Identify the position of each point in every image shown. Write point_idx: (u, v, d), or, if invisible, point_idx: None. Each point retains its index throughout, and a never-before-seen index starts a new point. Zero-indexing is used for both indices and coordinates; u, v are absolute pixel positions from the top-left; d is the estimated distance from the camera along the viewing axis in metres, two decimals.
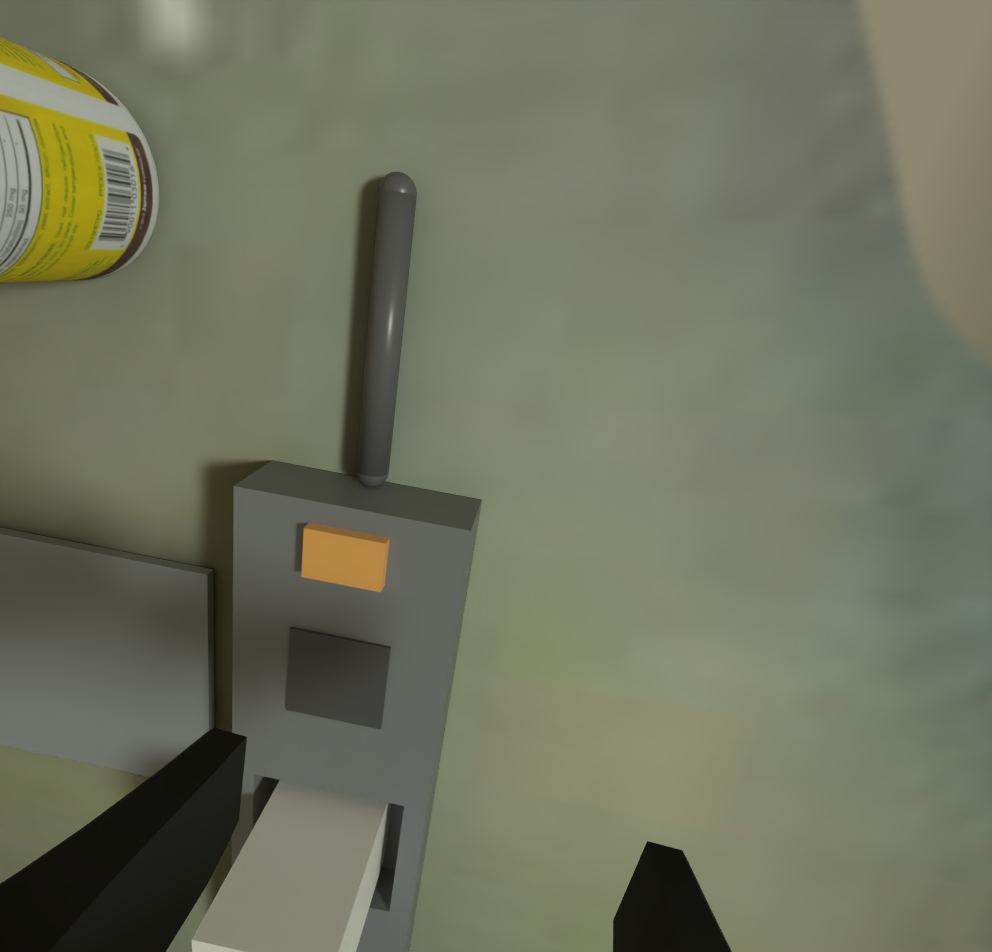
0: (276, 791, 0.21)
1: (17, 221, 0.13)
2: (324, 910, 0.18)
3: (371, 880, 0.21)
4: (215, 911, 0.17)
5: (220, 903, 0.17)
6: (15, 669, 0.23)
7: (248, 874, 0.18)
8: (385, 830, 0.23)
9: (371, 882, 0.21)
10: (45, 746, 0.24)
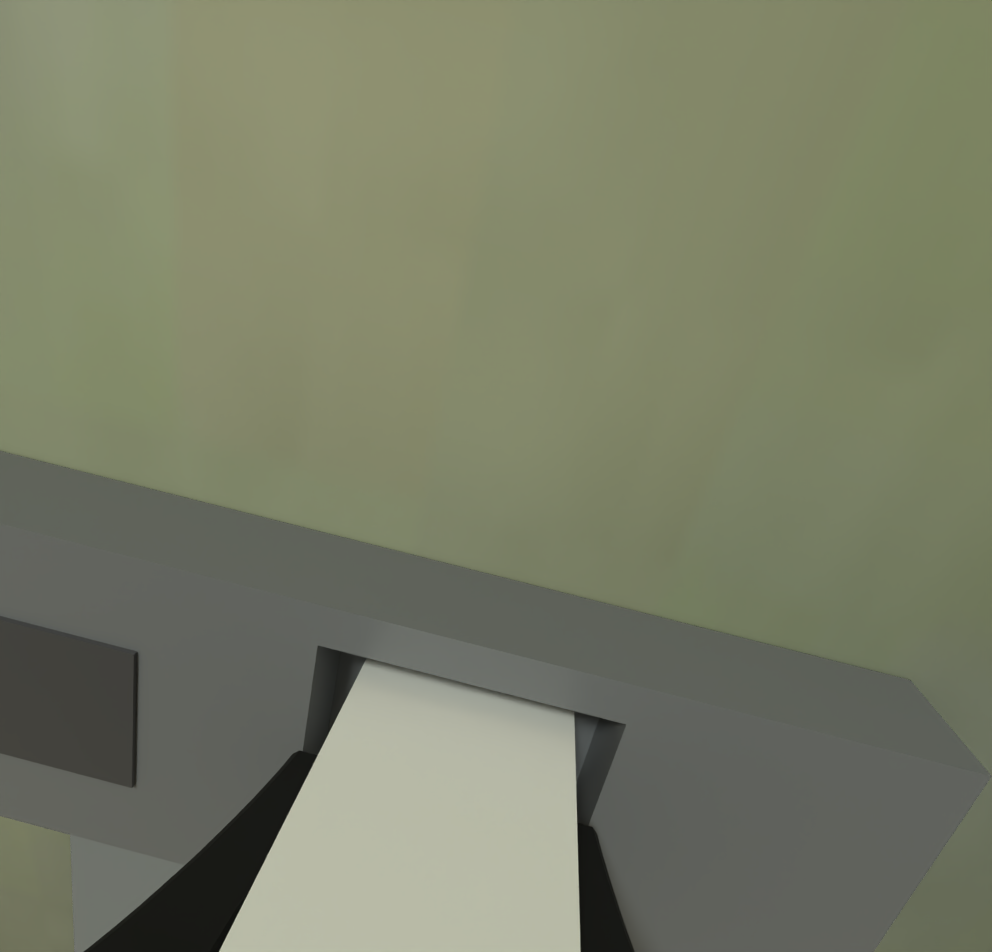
0: None
1: None
2: None
3: (473, 749, 0.10)
4: None
5: None
6: None
7: None
8: None
9: (483, 750, 0.10)
10: None
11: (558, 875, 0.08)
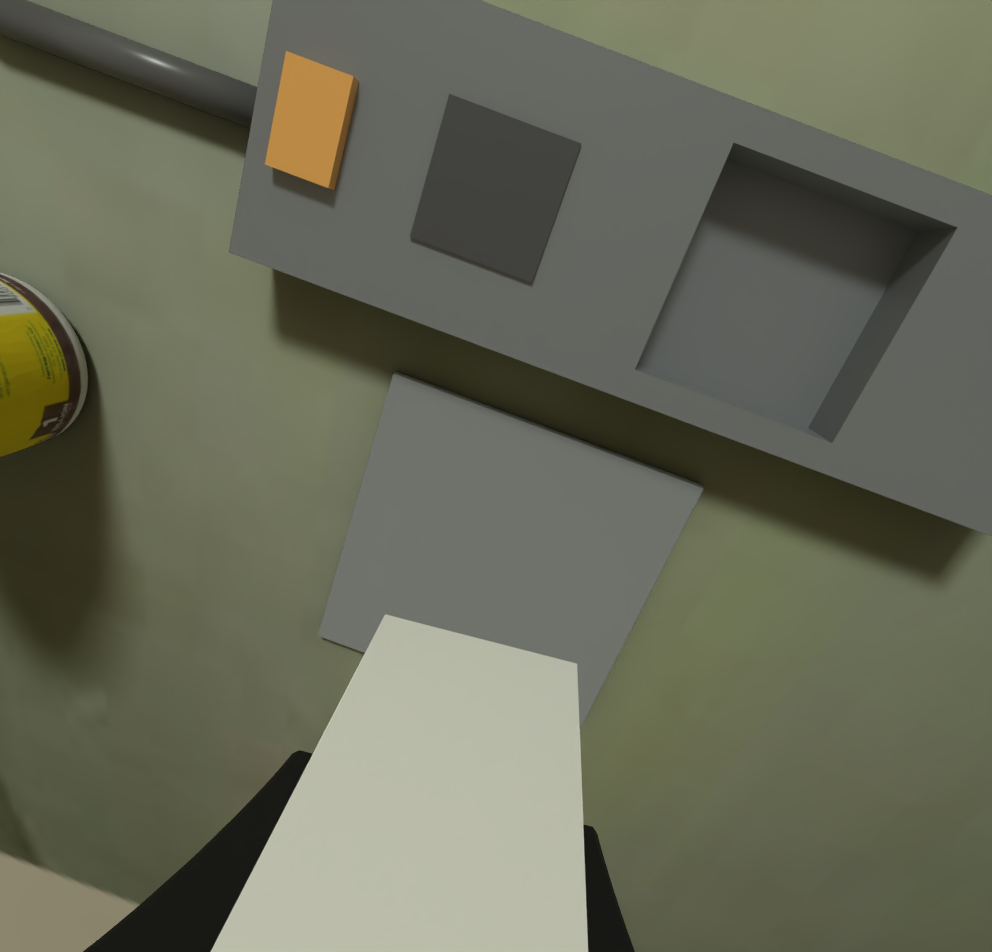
0: None
1: None
2: None
3: (479, 722, 0.10)
4: None
5: None
6: None
7: None
8: (469, 655, 0.11)
9: (489, 722, 0.10)
10: (600, 661, 0.20)
11: (564, 838, 0.08)
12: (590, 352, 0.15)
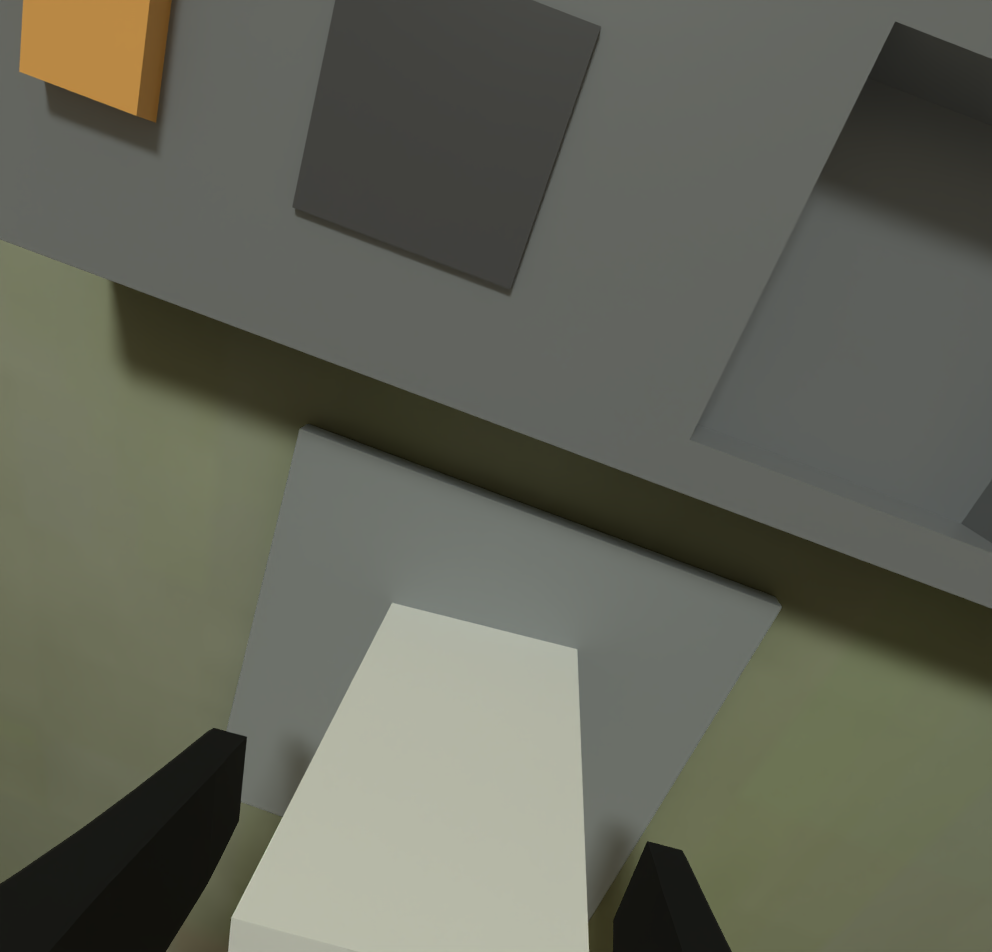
0: None
1: None
2: None
3: (484, 703, 0.10)
4: None
5: None
6: None
7: None
8: (473, 641, 0.12)
9: (493, 703, 0.10)
10: (617, 839, 0.14)
11: (565, 809, 0.09)
12: (612, 410, 0.09)
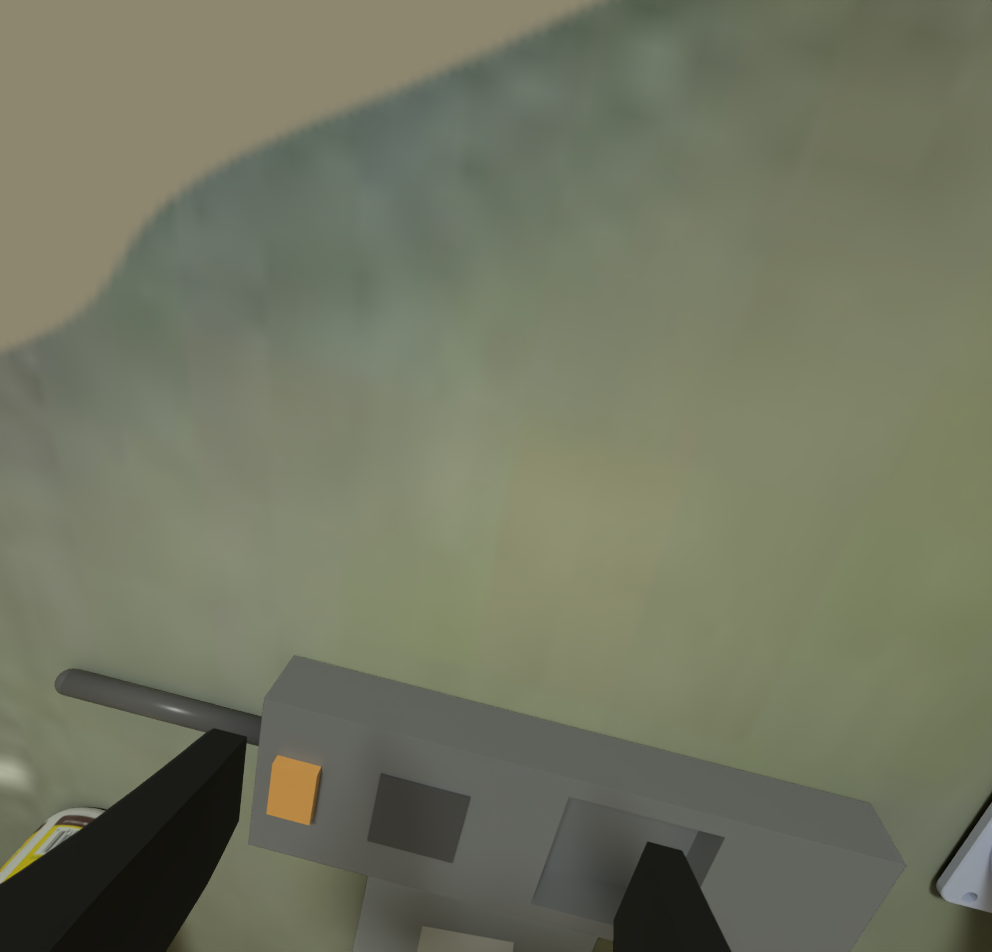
0: None
1: None
2: None
3: None
4: None
5: None
6: None
7: None
8: (462, 948, 0.25)
9: None
10: None
11: None
12: (499, 894, 0.22)
